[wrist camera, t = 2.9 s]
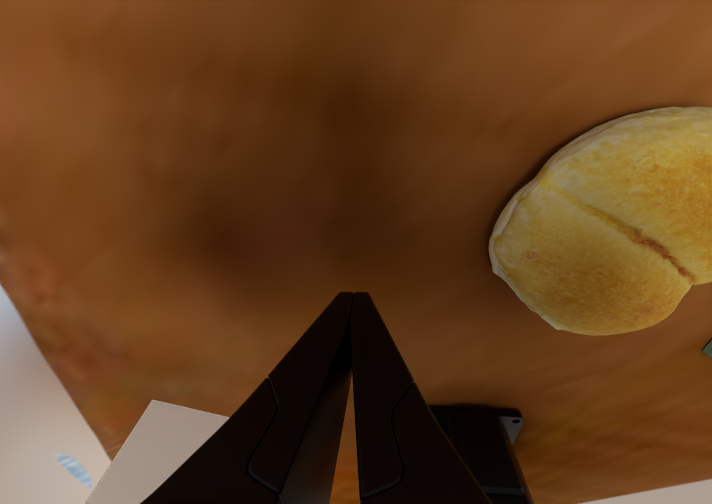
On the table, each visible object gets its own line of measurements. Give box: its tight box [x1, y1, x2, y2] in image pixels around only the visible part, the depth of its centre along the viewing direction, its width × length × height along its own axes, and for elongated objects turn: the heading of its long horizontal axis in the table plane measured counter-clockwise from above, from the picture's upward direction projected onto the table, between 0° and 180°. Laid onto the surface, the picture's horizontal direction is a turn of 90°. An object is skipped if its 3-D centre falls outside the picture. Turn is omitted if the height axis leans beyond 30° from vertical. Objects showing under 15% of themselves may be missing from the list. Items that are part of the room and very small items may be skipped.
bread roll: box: [489, 106, 712, 335], centre depth 10 cm, size 8×9×4 cm
